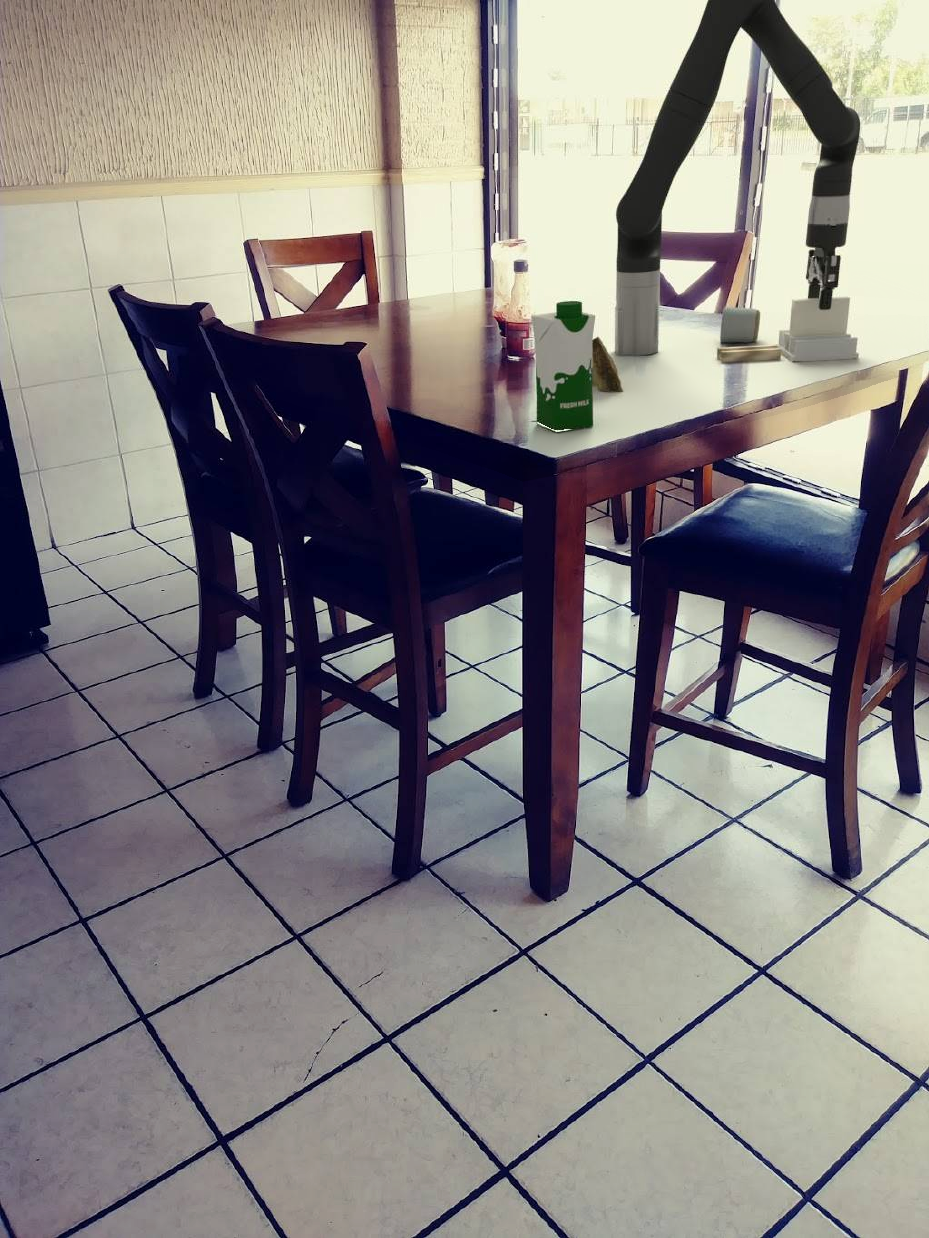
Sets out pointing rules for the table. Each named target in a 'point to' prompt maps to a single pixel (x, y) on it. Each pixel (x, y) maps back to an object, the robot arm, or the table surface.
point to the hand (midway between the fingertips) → (818, 306)
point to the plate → (818, 317)
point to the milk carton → (564, 366)
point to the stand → (748, 353)
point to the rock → (604, 368)
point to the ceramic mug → (739, 325)
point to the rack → (817, 347)
